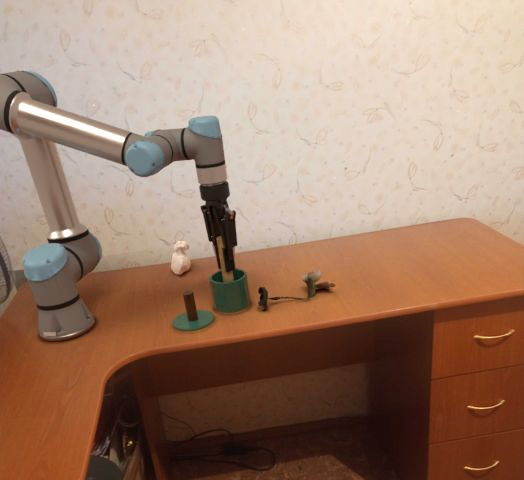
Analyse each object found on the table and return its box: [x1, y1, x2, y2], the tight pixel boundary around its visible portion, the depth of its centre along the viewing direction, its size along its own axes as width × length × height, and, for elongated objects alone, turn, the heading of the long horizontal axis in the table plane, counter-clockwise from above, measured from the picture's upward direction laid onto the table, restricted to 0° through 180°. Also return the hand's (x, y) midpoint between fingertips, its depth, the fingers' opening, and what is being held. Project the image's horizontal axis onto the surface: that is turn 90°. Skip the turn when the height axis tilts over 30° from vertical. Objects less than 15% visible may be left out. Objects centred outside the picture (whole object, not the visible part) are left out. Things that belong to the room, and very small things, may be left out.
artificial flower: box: [257, 268, 336, 311], centre depth 150 cm, size 9×22×10 cm, turn 107°
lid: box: [172, 290, 215, 332], centre depth 144 cm, size 11×11×9 cm
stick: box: [216, 236, 234, 283], centre depth 147 cm, size 3×3×20 cm
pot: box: [208, 268, 251, 314], centre depth 150 cm, size 10×10×10 cm
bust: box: [170, 240, 192, 276], centre depth 179 cm, size 12×8×11 cm
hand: (226, 268), depth 147 cm, fingers closed on stick, 3 cm apart
